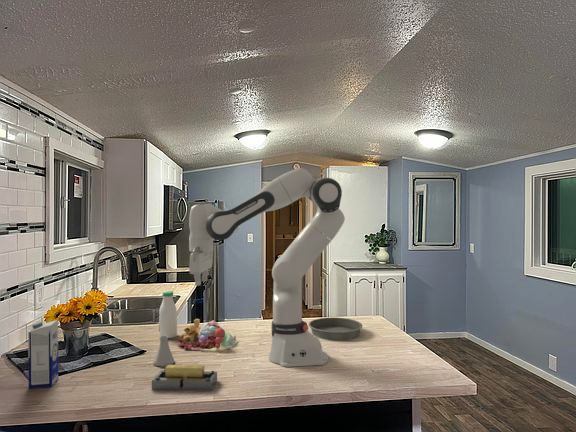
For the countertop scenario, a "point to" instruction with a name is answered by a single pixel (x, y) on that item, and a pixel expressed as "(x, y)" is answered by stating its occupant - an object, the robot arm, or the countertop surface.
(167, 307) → the milk bottle
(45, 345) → the milk carton
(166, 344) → the flask
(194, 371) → the tall mustard post
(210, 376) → the grey forked link
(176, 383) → the link
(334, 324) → the cake pan
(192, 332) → the candy landscape model
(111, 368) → the countertop surface
